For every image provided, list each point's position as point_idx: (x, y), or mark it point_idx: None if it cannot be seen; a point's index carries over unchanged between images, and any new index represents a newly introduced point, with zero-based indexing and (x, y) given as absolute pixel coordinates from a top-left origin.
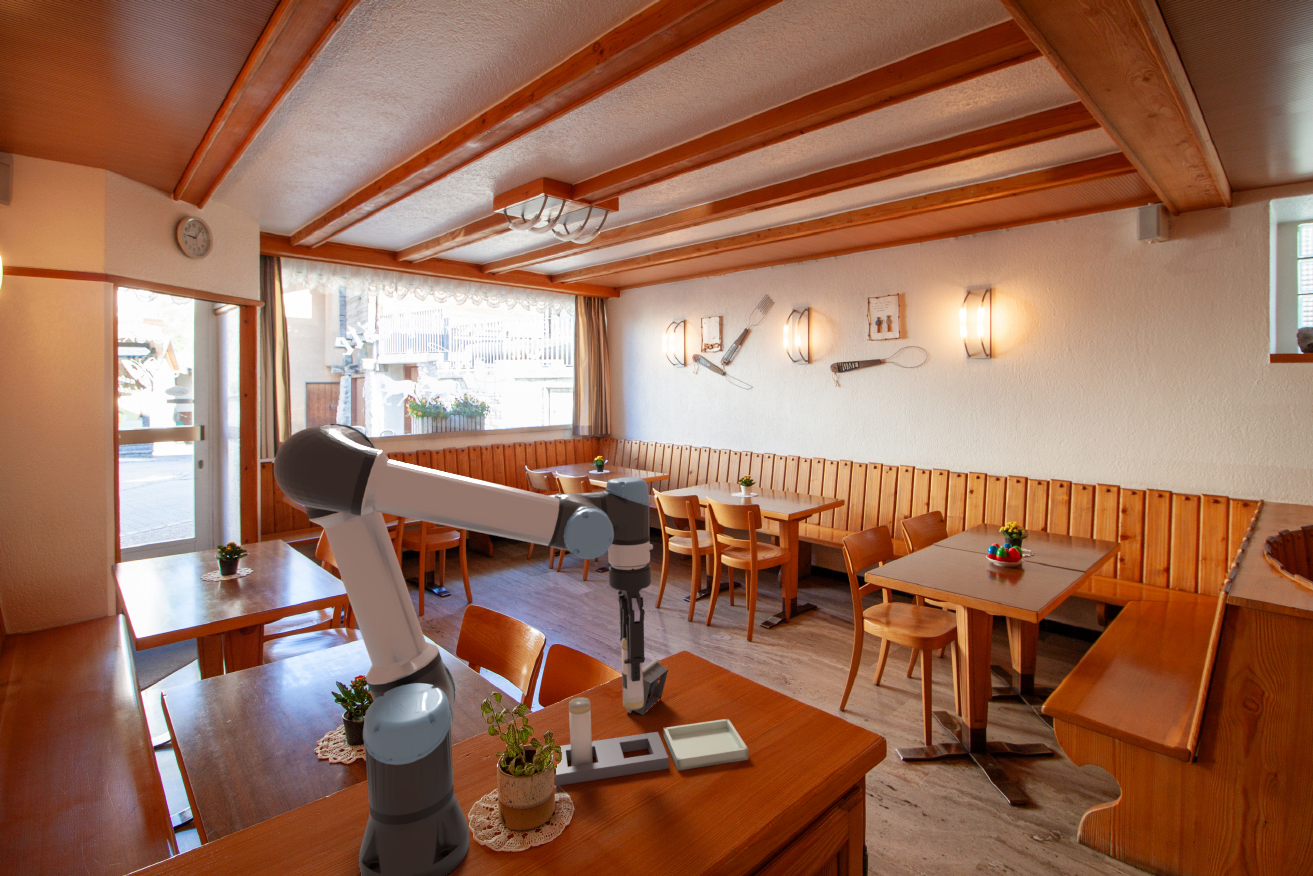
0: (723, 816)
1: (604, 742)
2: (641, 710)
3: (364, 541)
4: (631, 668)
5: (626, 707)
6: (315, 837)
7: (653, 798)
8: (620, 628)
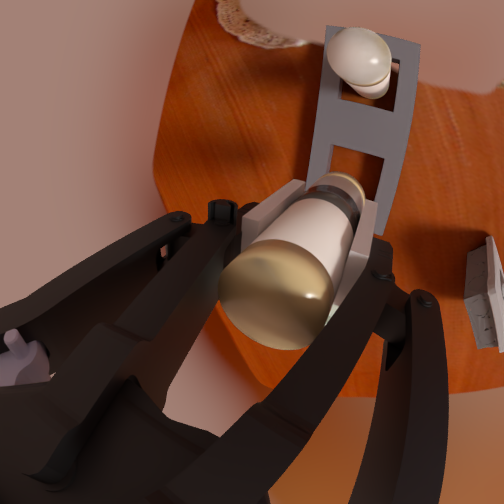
0: (199, 214)
1: (398, 133)
2: (471, 255)
3: None
4: (241, 219)
5: (324, 174)
6: None
7: (250, 154)
8: (437, 346)
